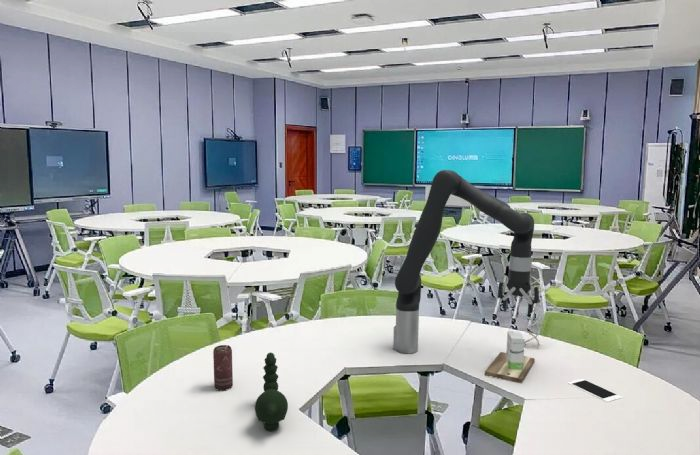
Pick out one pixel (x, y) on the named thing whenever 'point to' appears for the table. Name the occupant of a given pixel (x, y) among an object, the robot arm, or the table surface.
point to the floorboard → (503, 370)
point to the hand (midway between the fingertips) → (517, 311)
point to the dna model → (533, 311)
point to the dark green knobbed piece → (271, 397)
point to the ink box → (515, 350)
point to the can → (223, 367)
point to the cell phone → (595, 390)
